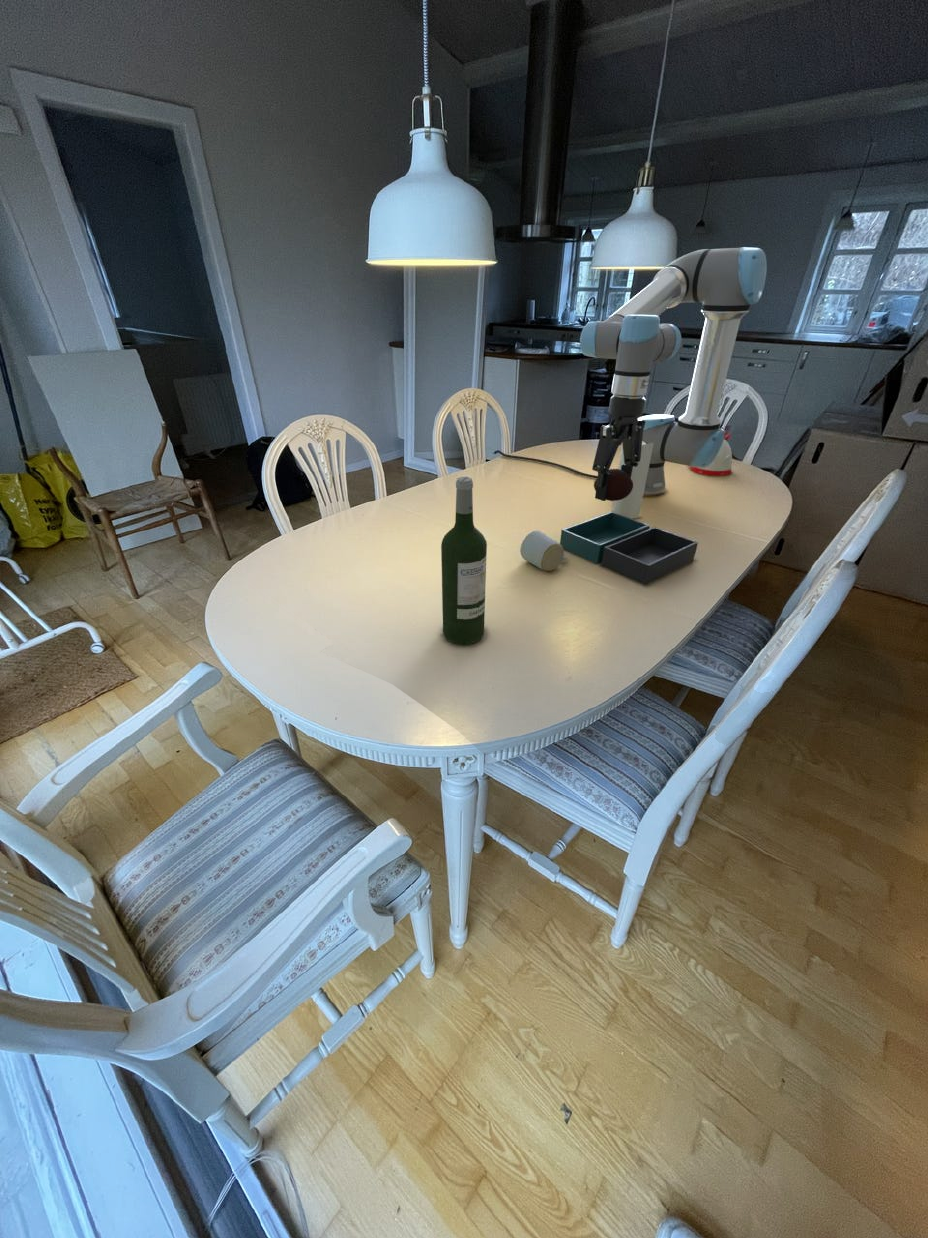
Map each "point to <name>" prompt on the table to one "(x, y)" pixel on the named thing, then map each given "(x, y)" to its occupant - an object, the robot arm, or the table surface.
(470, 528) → the wine bottle
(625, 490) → the potato
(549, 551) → the ceramic mug
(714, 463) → the kitchen timer
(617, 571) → the box
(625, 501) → the paper towel roll
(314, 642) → the table surface
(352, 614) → the table surface
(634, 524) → the left tote
